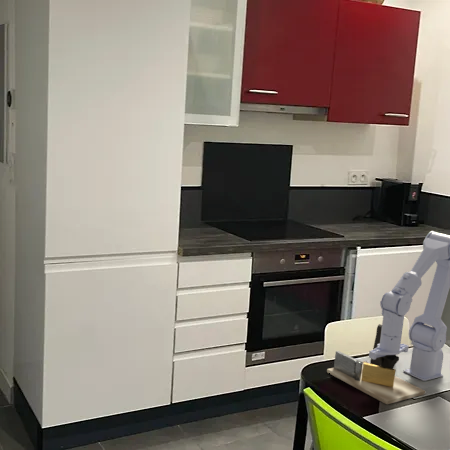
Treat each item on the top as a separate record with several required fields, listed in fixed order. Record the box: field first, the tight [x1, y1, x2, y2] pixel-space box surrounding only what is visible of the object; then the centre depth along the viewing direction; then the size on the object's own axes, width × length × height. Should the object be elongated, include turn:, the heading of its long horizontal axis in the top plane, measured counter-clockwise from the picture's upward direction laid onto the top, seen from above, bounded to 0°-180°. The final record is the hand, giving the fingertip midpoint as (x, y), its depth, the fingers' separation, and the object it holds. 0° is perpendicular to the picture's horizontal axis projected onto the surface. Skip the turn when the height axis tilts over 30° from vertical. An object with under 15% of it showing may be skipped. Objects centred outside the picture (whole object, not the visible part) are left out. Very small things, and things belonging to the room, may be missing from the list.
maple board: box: [326, 360, 426, 405], centre depth 189 cm, size 16×24×1 cm
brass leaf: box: [361, 362, 397, 387], centre depth 186 cm, size 1×9×5 cm, turn 69°
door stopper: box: [369, 323, 382, 366], centre depth 205 cm, size 9×6×12 cm, turn 152°
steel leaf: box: [333, 350, 363, 381], centre depth 191 cm, size 2×10×5 cm, turn 35°
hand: (385, 378), depth 187 cm, fingers closed, pressing on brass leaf
